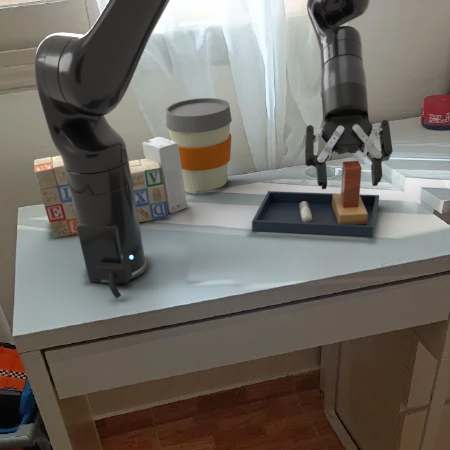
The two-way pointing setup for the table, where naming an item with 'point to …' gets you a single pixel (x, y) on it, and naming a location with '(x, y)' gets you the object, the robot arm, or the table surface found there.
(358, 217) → the wooden block on base
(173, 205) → the cosmetic box
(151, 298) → the table surface
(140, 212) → the stack of blocks
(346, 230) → the tray
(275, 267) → the table surface
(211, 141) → the reusable coffee cup
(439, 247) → the table surface
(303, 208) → the chalk
